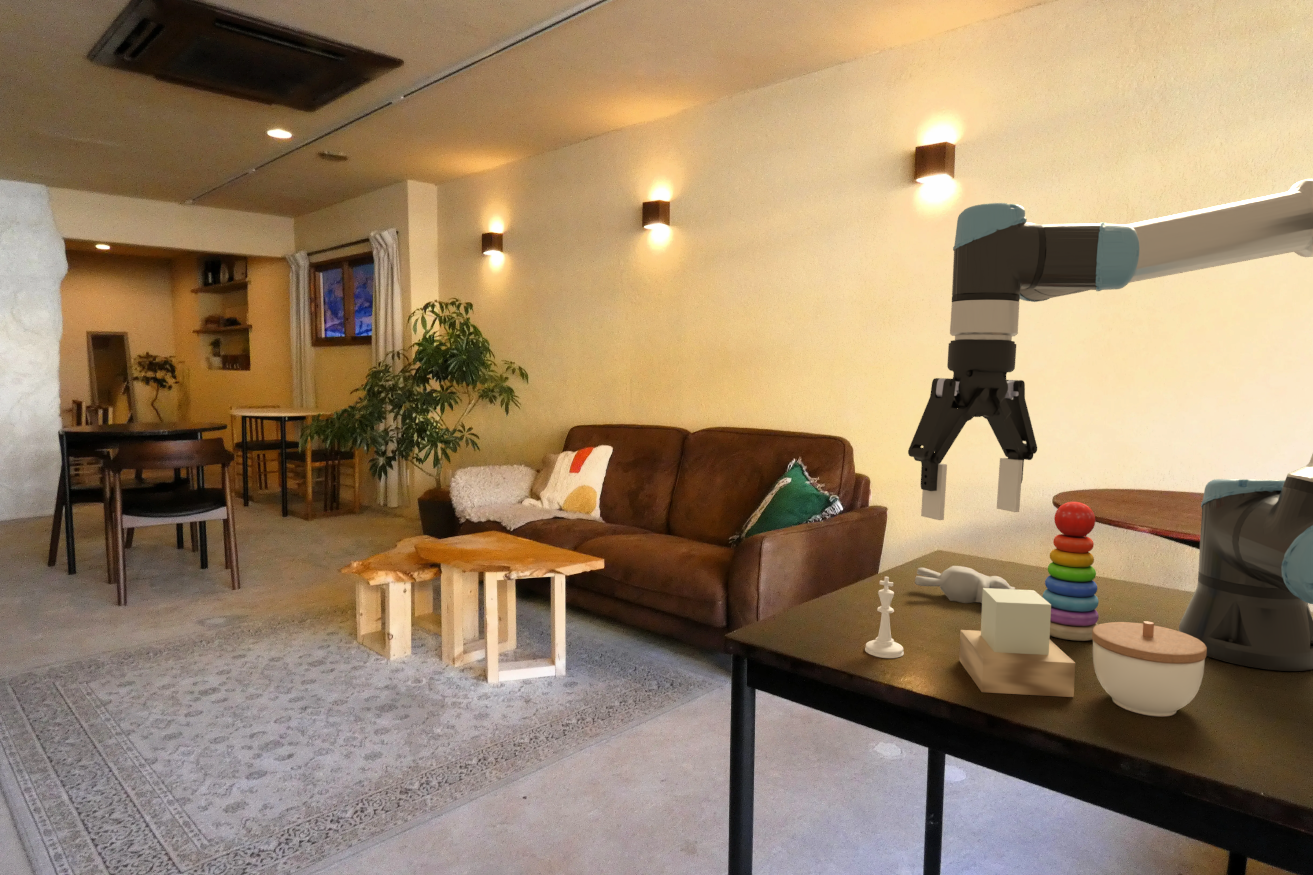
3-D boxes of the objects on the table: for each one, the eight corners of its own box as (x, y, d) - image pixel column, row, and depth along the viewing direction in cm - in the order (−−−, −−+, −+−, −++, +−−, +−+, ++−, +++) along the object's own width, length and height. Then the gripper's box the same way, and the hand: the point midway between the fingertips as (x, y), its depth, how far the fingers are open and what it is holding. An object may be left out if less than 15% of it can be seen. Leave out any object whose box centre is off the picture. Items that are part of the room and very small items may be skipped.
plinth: (1041, 664, 99) (1043, 633, 98) (1073, 696, 89) (1075, 662, 89) (959, 660, 100) (960, 629, 100) (981, 691, 90) (983, 658, 90)
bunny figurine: (1019, 588, 120) (916, 567, 125) (1013, 620, 120) (911, 598, 125) (1015, 573, 128) (920, 554, 134) (1009, 603, 129) (915, 583, 134)
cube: (1031, 637, 97) (1033, 590, 96) (1048, 654, 91) (1051, 604, 91) (980, 634, 98) (982, 587, 97) (994, 652, 92) (996, 602, 91)
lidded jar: (1098, 678, 95) (1103, 602, 94) (1206, 702, 88) (1212, 620, 87) (1079, 707, 86) (1084, 624, 86) (1196, 736, 80) (1203, 646, 79)
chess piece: (895, 661, 100) (898, 584, 99) (859, 652, 103) (861, 577, 102) (909, 650, 104) (911, 576, 103) (873, 642, 107) (875, 570, 106)
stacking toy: (1108, 645, 106) (1116, 508, 104) (1045, 640, 108) (1052, 505, 106) (1089, 626, 114) (1096, 498, 112) (1030, 622, 115) (1036, 496, 114)
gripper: (1021, 343, 103) (1010, 502, 105) (882, 335, 91) (873, 515, 93) (1075, 342, 96) (1063, 512, 98) (934, 333, 84) (923, 527, 86)
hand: (971, 514), depth 96 cm, fingers open, 13 cm apart
